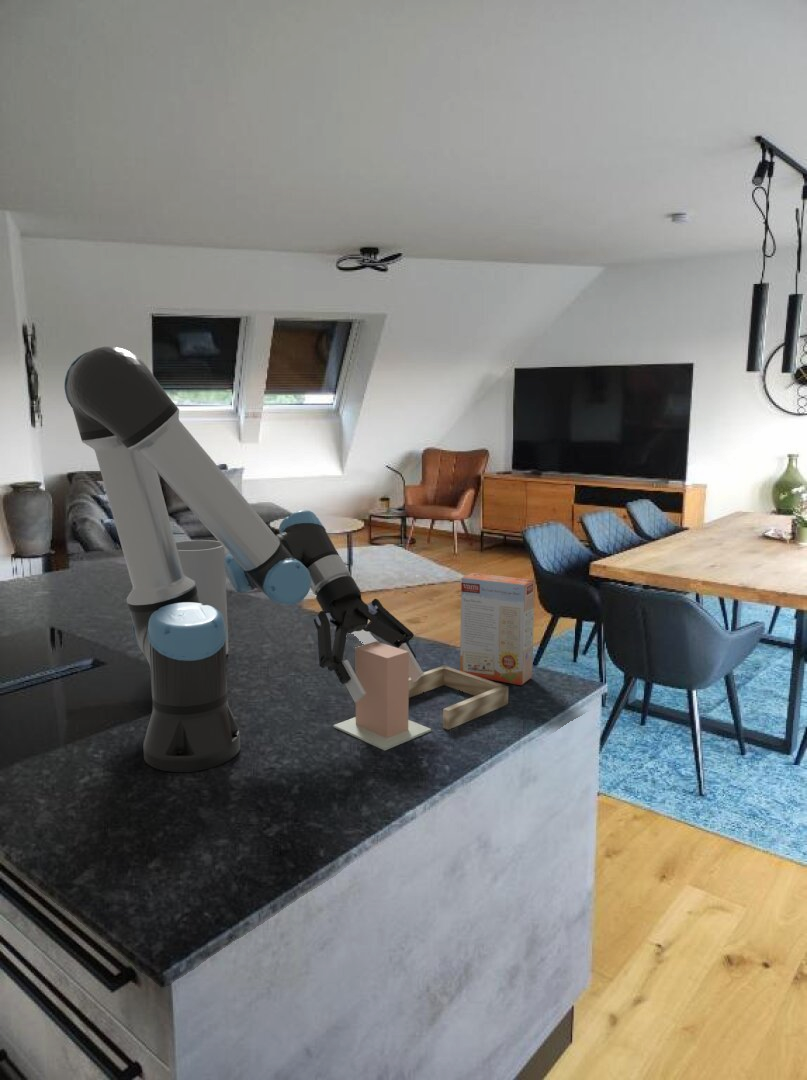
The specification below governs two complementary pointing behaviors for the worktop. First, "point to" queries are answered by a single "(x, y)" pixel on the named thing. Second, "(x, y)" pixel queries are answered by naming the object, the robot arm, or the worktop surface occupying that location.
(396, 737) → the sage mat
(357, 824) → the worktop surface
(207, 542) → the cylinder vase
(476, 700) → the birch bay
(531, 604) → the cracker box
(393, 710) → the peach block
